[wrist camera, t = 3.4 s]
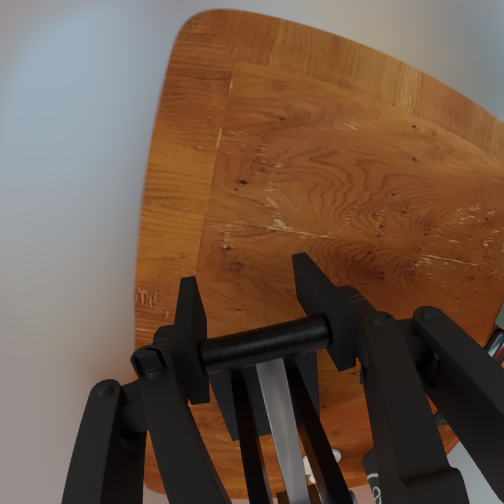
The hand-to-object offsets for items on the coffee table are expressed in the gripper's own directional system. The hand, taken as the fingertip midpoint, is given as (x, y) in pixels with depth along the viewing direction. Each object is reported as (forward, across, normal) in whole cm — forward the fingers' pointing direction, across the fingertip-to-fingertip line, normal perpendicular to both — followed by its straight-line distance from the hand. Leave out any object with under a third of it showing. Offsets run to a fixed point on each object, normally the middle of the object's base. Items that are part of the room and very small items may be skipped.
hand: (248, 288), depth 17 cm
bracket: (+3, 0, -10) cm, 11 cm away
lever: (-6, 0, -6) cm, 8 cm away
